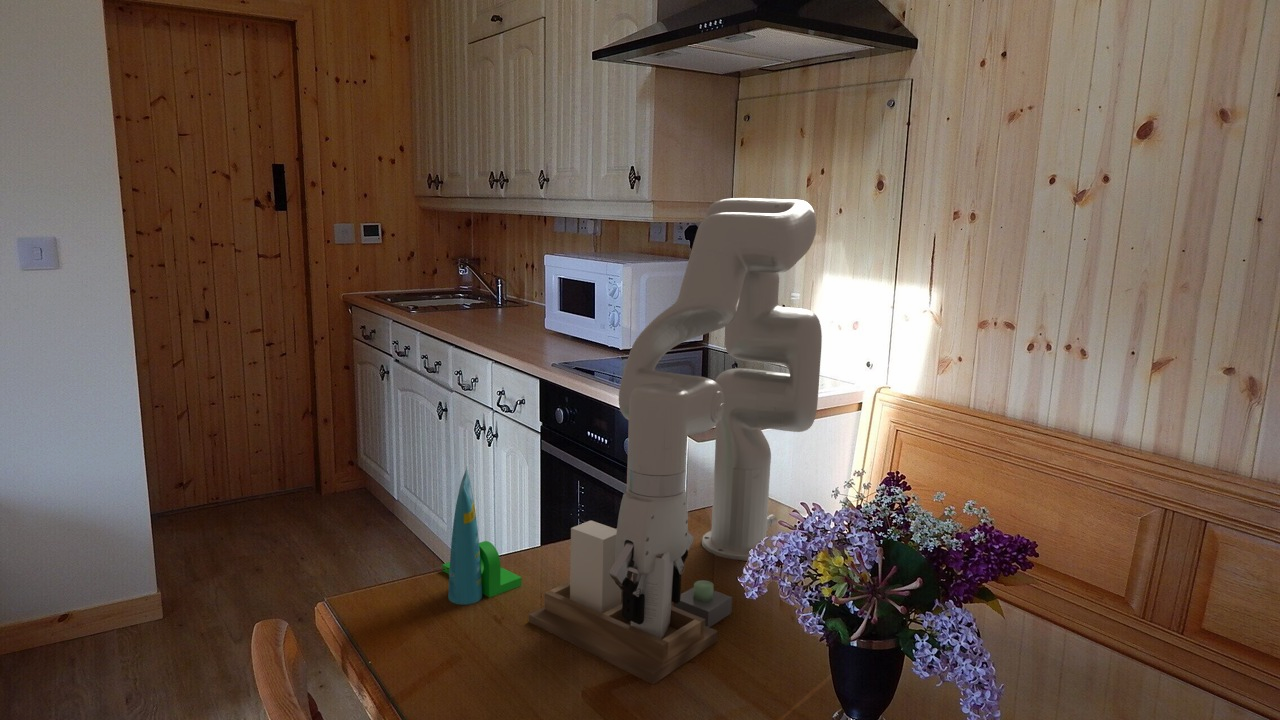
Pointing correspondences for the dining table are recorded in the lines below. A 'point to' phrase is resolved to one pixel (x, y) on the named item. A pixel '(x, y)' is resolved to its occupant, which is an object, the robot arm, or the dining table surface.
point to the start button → (703, 591)
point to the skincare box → (657, 597)
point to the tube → (465, 550)
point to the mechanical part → (492, 572)
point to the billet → (593, 566)
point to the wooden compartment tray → (624, 635)
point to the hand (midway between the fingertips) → (651, 608)
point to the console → (706, 606)
